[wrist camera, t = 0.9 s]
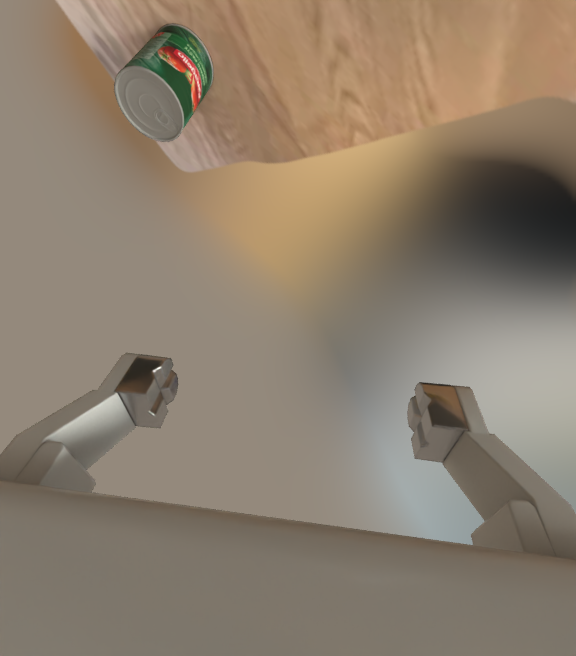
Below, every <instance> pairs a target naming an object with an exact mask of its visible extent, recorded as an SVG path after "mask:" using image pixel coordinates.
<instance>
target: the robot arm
mask: <svg viewBox="0 0 576 656" xmlns="http://www.w3.org/2000/svg"><path fill="white" fill-rule="evenodd" d="M172 367H173V362H172V360H171V358H165V357H158V356H150V355H142V354H133V353H125V354H124V355H122V356H121V357H120V359H119V360H118V362H117V363H116V364H115V366H114V367H113V369H112V370H111V372H110V373H109V374H108V376H107V377H106V379H105V380H104V381H103V383H102V384H101V386H100V387H99V389H98V390H92V391H90V392H89V393H87V394H85V395H84V396H82V397H80V398H79V399H77V400H75V401H73V402H72V403H70V404H69V405H67V406H65V407H63V408H62V409H60V410H58V411H57V412H55V413H53V414H52V415H50V416H48V417H46V418H45V419H43V420H41V421H40V422H38V423H36V424H35V425H33V426H31V427H30V428H28V429H26V430H24V431H23V432H21V433H20V434H18V435H16V437H15V438H14V439H13V440H12V441H11V443H10V444H9V445H8V446H7V447H6V449H5V450H4V451H3V452H2V453H1V454H0V656H576V514H575V512H574V510H573V508H572V506H571V505H570V504H569V503H568V502H567V501H566V500H565V499H564V498H562V496H561V495H559V494H558V493H557V492H556V491H555V490H554V489H553V488H552V487H551V486H550V485H549V484H547V483H546V482H545V481H544V480H543V479H542V478H541V477H540V476H539V475H538V474H537V473H536V472H535V471H534V470H532V469H531V468H530V467H529V466H528V465H527V464H526V463H525V462H524V461H523V460H521V459H520V458H519V457H518V456H517V455H516V454H515V453H514V452H513V451H512V450H511V449H509V447H508V446H506V445H505V444H504V443H503V442H502V441H501V440H500V439H499V438H498V437H497V436H496V435H495V434H489V432H488V429H487V427H486V424H485V422H484V419H483V416H482V414H481V411H480V409H479V407H478V404H477V401H476V399H475V396H474V393H473V391H472V389H471V388H470V387H464V386H451V385H444V384H433V383H422V382H419V383H418V384H417V385H416V387H415V394H416V396H414V397H412V398H411V399H410V402H409V405H408V424H409V427H410V428H411V429H412V430H413V432H414V434H413V436H412V438H411V441H412V446H413V452H414V456H415V459H421V460H428V461H436V462H442V463H443V465H444V467H445V468H446V469H447V471H448V472H449V473H450V475H451V476H452V478H453V479H454V480H455V482H456V483H457V484H458V485H459V487H460V488H461V490H462V491H463V492H464V494H465V495H466V496H467V498H468V499H469V500H470V502H471V503H472V504H473V506H474V507H475V508H476V510H477V511H478V512H479V514H480V515H481V516H482V518H483V519H484V521H485V522H484V523H483V524H482V525H481V526H479V527H478V528H477V529H476V530H475V531H474V532H473V533H472V534H471V537H472V541H473V545H467V544H460V543H453V542H445V541H439V540H431V539H424V538H417V537H409V536H402V535H395V534H388V533H381V532H374V531H366V530H359V529H352V528H345V527H338V526H330V525H323V524H316V523H309V522H302V521H294V520H287V519H280V518H273V517H266V516H257V515H251V514H244V513H237V512H230V511H222V510H215V509H208V508H201V507H193V506H186V505H179V504H172V503H164V502H157V501H149V500H143V499H136V498H128V497H121V496H114V495H106V494H99V493H92V490H93V488H94V486H95V485H96V483H95V480H94V479H93V478H92V476H91V475H90V474H89V473H88V472H87V471H86V470H87V469H88V468H89V467H91V466H92V465H93V464H94V463H95V462H96V461H98V460H99V459H100V458H101V457H102V456H103V455H105V454H106V452H108V451H109V450H110V449H112V448H113V447H114V446H115V445H116V444H117V443H118V442H120V441H121V440H122V439H123V438H124V437H125V436H127V435H128V434H129V433H130V432H131V431H132V430H134V429H135V428H136V427H135V426H140V427H151V428H161V425H162V423H163V421H164V419H165V417H166V415H167V413H168V409H167V406H166V405H167V404H169V403H170V402H172V401H173V400H174V398H175V395H176V393H177V389H178V377H177V374H176V373H175V372H174V371H172V370H171V369H172Z"/></svg>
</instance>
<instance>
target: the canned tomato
mask: <svg viewBox="0 0 576 656" xmlns="http://www.w3.org/2000/svg"><path fill="white" fill-rule="evenodd" d="M212 81H213V65H212V61H211V58H210V55H209V53H208V51H207V49H206V47H205V45H204V44H203V42H202V41H201V40H200V39H199V37H198V36H197V35H196V34H194V33H193V32H192V31H191V30H189V29H188V28H186V27H184V26H182V25H179V24H167V25H165V26H163V27H161V28H160V29H159V30H158V32H157V33H156V34H155V35H154V36H153V37H152V38H151V39H150V41H149V42H148V43H147V44H146V45H145V46H144V47H143V48H142V49H141V50H140V51H139V52H138V53H137V54H136V55H135V56H134V57H133V58H132V60H131V61H130V62H129V63H128V64H127V65H126V66H125V67H124V68H123V69H122V70H121V71H120V72H119V73H118V74H117V76H116V78H115V83H114V90H115V96H116V100H117V102H118V105H119V107H120V109H121V111H122V112H123V114H124V115H125V117H126V118H127V120H128V121H129V122H130V123H131V124H132V125H133V126H134V127H135V128H136V129H137V130H138V131H139V132H141V133H142V134H144V135H145V136H147V137H149V138H151V139H154V140H156V141H161V142H170V141H173V140H175V139H176V138H178V137H179V135H180V134H181V132H182V130H183V128H184V127H185V126H186V124H187V123H188V121H189V119H190V118H191V116H192V115H193V113H194V112H195V110H196V109H197V107H198V106H199V104H200V102H201V101H202V99H203V98H204V96H205V95H206V93H207V92H208V90H209V89H210V87H211V85H212Z"/></svg>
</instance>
